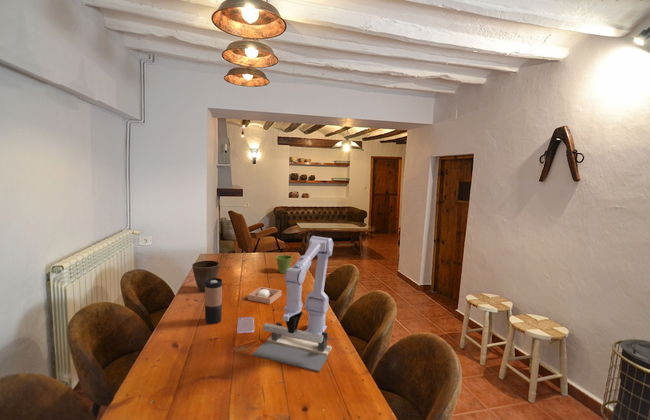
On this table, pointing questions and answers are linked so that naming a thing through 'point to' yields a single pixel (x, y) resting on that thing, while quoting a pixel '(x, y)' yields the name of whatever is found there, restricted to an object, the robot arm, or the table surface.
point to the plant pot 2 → (283, 262)
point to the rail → (296, 334)
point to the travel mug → (213, 300)
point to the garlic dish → (254, 297)
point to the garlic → (263, 293)
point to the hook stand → (301, 343)
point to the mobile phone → (245, 325)
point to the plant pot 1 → (204, 272)
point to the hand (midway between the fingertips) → (292, 331)
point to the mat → (291, 356)
